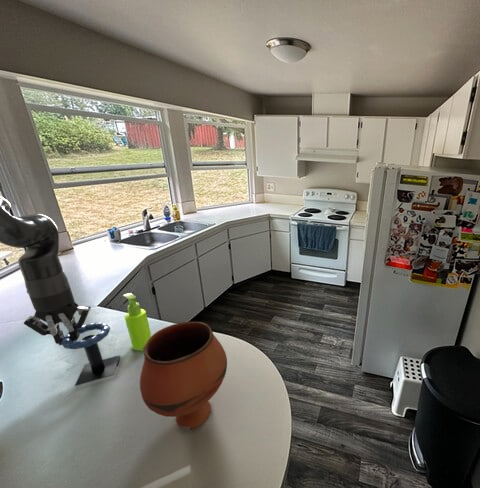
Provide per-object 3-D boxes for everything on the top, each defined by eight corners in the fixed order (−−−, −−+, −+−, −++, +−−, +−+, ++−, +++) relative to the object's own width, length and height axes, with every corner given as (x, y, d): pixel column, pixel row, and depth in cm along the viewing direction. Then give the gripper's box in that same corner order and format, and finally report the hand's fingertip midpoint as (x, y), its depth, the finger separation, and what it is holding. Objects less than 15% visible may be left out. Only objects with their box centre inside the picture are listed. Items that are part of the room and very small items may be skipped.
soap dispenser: (146, 335, 95) (135, 289, 88) (155, 342, 91) (145, 295, 85) (128, 345, 90) (115, 296, 83) (137, 352, 87) (124, 303, 80)
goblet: (215, 454, 58) (202, 372, 50) (132, 453, 58) (105, 370, 50) (240, 383, 76) (233, 315, 68) (177, 383, 76) (162, 313, 68)
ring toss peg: (75, 388, 73) (61, 353, 69) (85, 366, 80) (73, 333, 76) (114, 377, 77) (103, 343, 73) (120, 357, 85) (111, 325, 80)
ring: (56, 355, 68) (53, 349, 67) (71, 332, 76) (69, 326, 76) (105, 344, 72) (103, 338, 72) (114, 323, 81) (112, 318, 80)
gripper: (88, 278, 73) (103, 328, 79) (20, 288, 67) (41, 340, 72) (79, 290, 67) (95, 343, 72) (3, 302, 61) (28, 358, 66)
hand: (68, 341), depth 72 cm, fingers closed on ring, 2 cm apart
